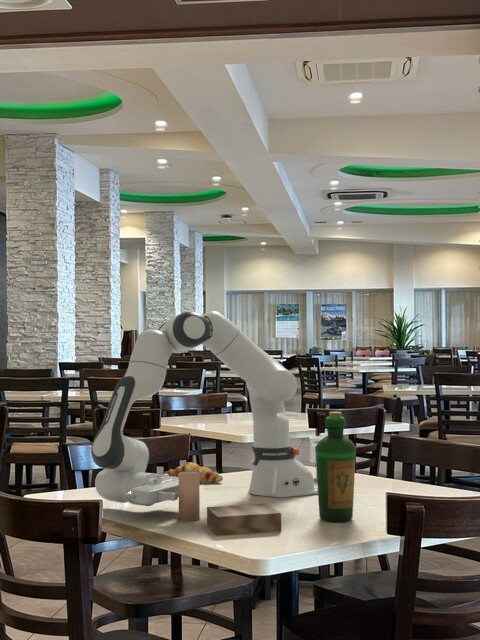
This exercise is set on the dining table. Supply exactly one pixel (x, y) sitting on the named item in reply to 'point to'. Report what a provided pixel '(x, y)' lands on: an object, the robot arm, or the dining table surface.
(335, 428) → the bottle
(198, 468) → the croissant
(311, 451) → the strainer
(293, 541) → the dining table surface
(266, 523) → the brown rectangular block
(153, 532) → the dining table surface
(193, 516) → the pink upright cylinder
